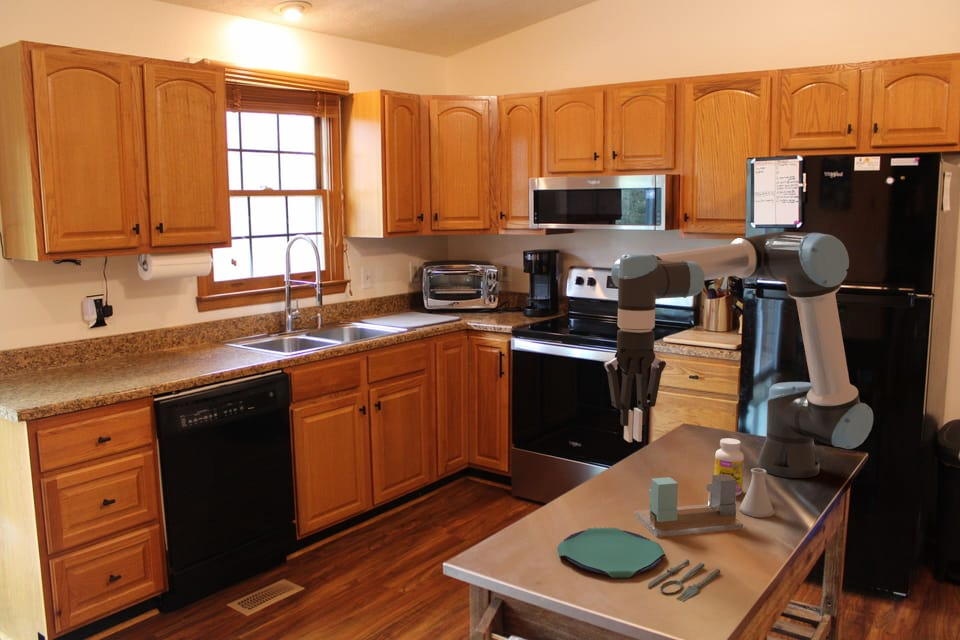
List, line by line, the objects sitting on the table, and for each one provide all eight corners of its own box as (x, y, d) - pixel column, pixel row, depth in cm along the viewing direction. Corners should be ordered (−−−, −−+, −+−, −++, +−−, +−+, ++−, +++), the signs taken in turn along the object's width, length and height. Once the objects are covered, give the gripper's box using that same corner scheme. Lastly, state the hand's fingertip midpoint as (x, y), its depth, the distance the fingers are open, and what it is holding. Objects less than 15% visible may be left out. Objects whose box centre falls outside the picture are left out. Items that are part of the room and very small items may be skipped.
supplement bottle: (713, 495, 194) (716, 444, 192) (712, 486, 200) (715, 436, 198) (743, 498, 192) (745, 446, 190) (741, 488, 199) (743, 438, 197)
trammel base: (715, 508, 186) (717, 464, 184) (743, 529, 174) (745, 481, 173) (634, 515, 182) (635, 470, 180) (656, 537, 170) (658, 489, 169)
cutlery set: (598, 528, 175) (599, 518, 175) (727, 574, 155) (728, 563, 154) (540, 558, 161) (540, 548, 161) (674, 614, 141) (674, 602, 140)
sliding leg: (660, 510, 181) (661, 470, 179) (677, 525, 172) (678, 483, 171) (641, 512, 180) (642, 471, 178) (657, 527, 171) (659, 485, 170)
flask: (733, 509, 186) (735, 467, 184) (758, 504, 188) (761, 463, 187) (754, 520, 179) (756, 477, 178) (780, 516, 182) (783, 473, 180)
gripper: (660, 325, 171) (657, 432, 175) (596, 327, 168) (593, 437, 172) (676, 330, 164) (672, 443, 168) (609, 333, 161) (606, 447, 165)
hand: (632, 439), depth 170 cm, fingers closed
